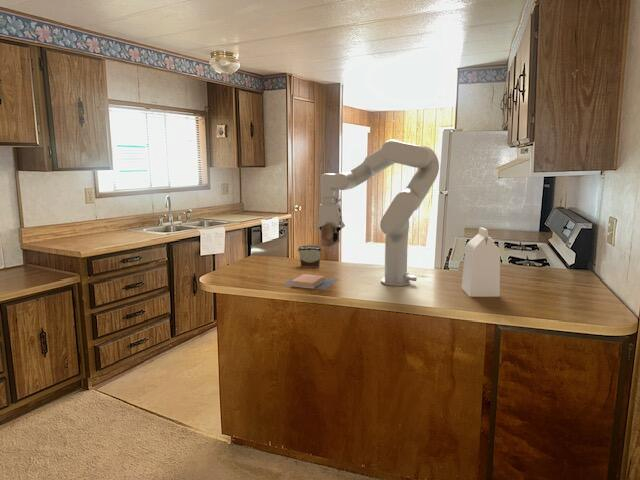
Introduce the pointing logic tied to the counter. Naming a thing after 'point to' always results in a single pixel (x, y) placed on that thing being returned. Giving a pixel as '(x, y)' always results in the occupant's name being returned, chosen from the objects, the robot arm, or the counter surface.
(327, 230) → the pusher block
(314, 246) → the food container
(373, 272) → the counter surface
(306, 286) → the tile
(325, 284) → the mat
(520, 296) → the counter surface
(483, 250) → the milk
